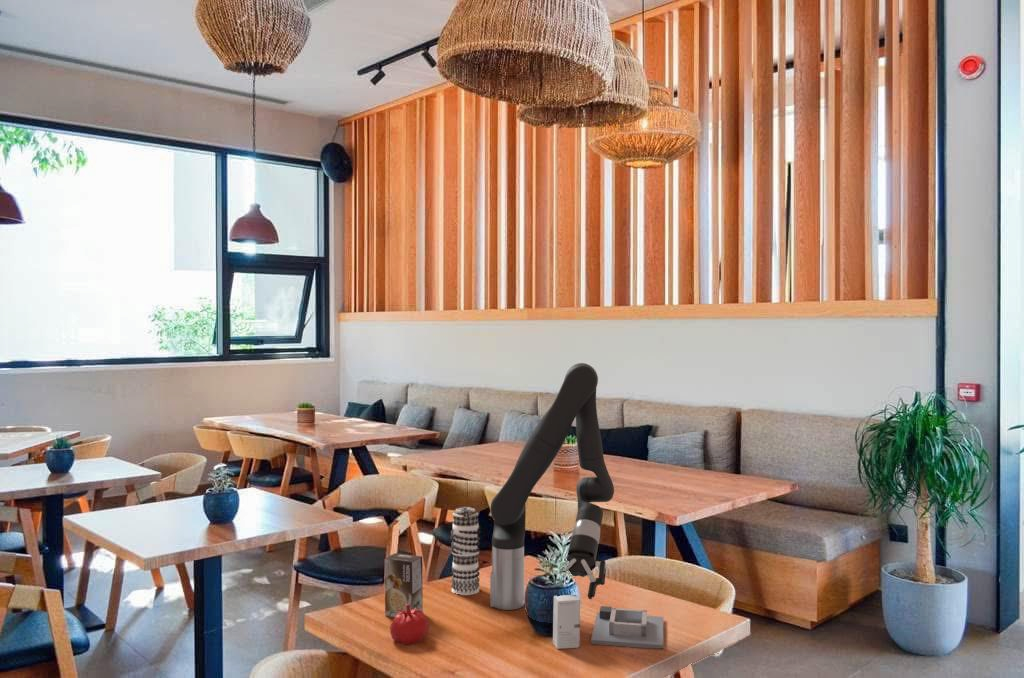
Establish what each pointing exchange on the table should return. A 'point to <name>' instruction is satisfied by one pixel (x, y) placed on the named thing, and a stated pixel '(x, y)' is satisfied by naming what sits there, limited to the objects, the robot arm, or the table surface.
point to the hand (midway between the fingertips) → (573, 596)
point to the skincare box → (566, 621)
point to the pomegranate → (409, 626)
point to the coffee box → (403, 583)
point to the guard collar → (628, 628)
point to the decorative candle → (465, 551)
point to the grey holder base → (650, 641)
